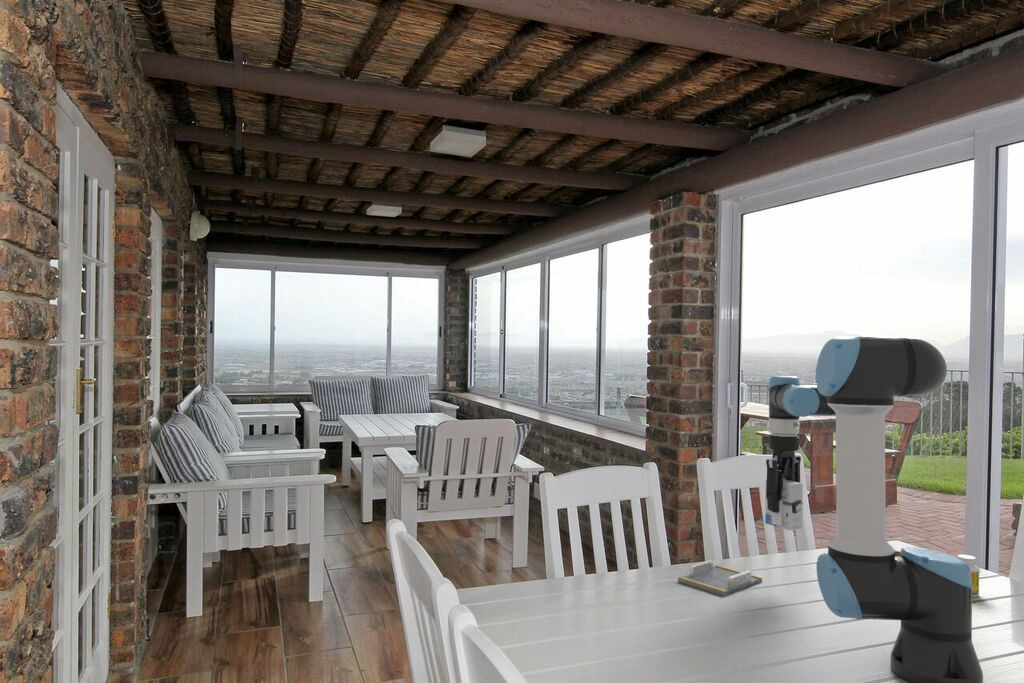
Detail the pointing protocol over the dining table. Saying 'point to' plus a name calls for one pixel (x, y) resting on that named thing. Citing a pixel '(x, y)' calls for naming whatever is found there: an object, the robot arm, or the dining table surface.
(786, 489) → the ink box
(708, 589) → the grey tray
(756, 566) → the dining table surface
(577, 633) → the dining table surface
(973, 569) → the supplement bottle
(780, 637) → the dining table surface
